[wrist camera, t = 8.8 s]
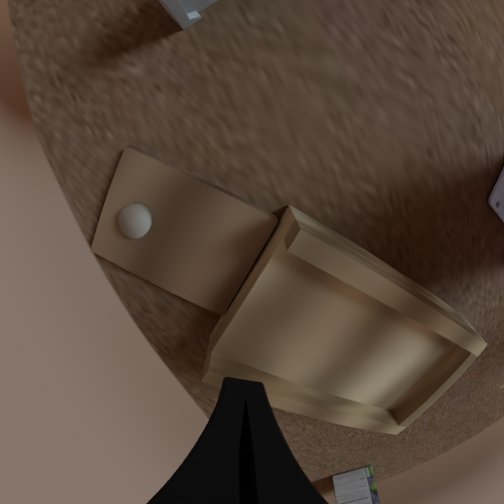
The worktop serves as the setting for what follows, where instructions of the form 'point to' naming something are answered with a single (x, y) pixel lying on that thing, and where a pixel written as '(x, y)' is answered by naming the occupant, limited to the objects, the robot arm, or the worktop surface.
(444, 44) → the worktop surface
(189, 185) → the lid plate
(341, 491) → the syrup box
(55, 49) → the worktop surface
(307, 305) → the oak box
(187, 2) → the arched grey pull
